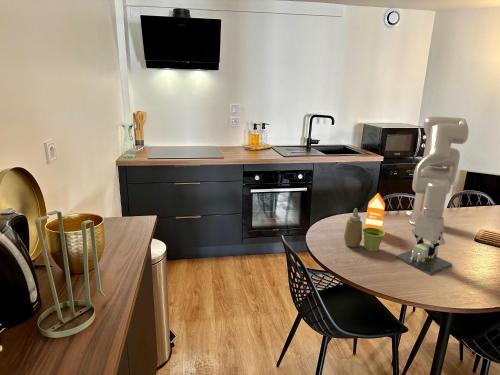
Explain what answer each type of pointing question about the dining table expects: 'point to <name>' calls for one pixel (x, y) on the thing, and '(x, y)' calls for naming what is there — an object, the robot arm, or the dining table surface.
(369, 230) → the plant pot
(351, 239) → the squeeze bottle
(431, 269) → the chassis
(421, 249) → the pale green block
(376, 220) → the orange juice
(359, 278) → the dining table surface
